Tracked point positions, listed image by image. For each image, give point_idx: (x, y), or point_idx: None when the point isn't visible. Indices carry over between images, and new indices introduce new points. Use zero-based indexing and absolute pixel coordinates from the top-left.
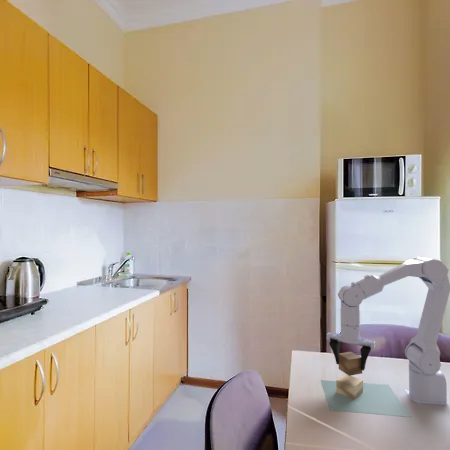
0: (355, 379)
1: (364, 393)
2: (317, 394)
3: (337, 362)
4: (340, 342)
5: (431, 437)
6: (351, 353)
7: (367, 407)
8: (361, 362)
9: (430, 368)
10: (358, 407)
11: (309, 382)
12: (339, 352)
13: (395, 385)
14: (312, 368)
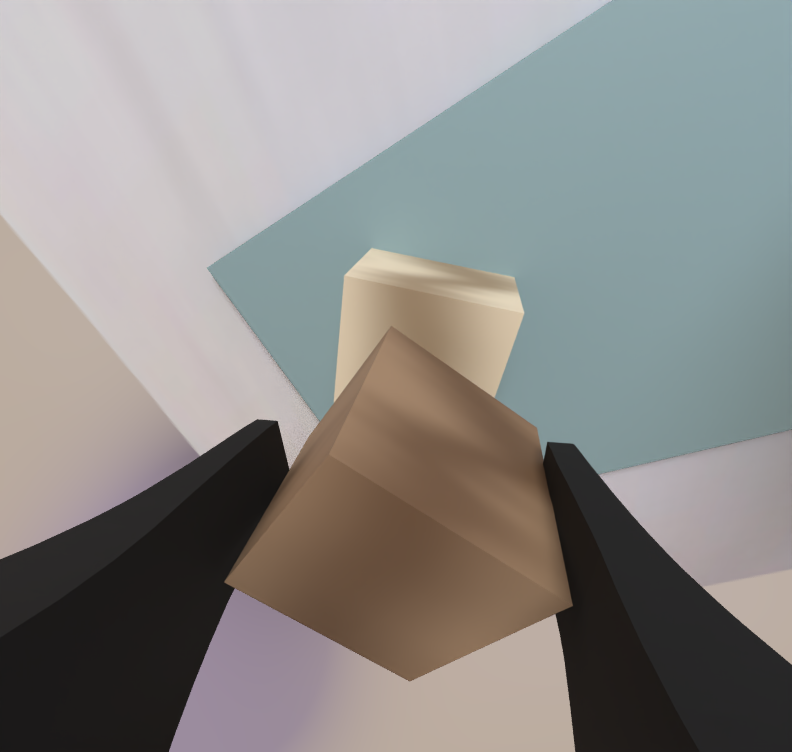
0: (458, 337)
1: (525, 284)
2: (283, 413)
3: (274, 495)
4: (27, 638)
5: None
6: (369, 525)
7: (556, 437)
8: (558, 613)
9: None
10: None
11: (175, 314)
12: (201, 518)
13: None
14: (18, 50)
